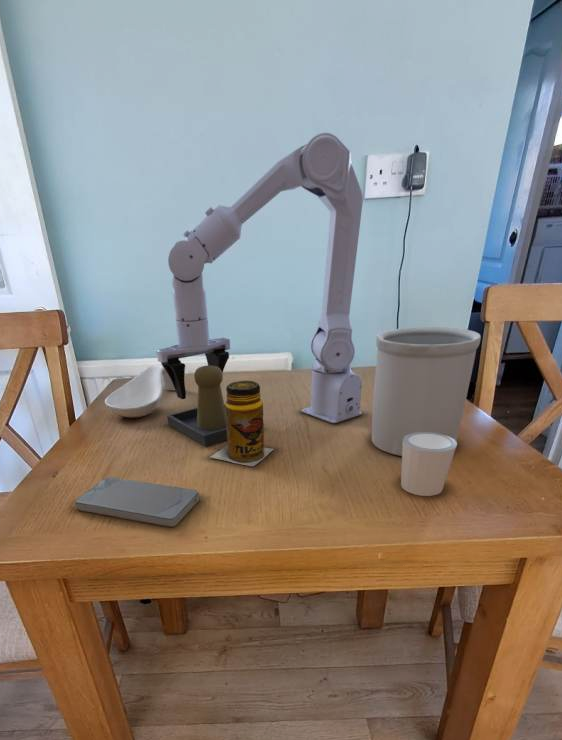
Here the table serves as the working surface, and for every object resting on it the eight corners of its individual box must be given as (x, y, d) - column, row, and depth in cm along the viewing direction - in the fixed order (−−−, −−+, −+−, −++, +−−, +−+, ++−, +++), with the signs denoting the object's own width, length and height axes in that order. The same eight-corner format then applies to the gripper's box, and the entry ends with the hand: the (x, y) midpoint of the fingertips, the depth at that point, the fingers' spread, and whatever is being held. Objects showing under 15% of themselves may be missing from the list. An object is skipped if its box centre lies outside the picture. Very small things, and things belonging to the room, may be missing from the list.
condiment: (254, 467, 74) (251, 393, 67) (209, 458, 77) (203, 387, 71) (274, 450, 79) (273, 380, 73) (231, 442, 83) (227, 375, 77)
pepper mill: (214, 432, 86) (209, 372, 80) (190, 426, 89) (184, 368, 83) (234, 422, 90) (231, 364, 84) (210, 417, 93) (206, 361, 87)
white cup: (407, 471, 70) (414, 427, 66) (454, 483, 66) (464, 437, 62) (388, 489, 66) (394, 443, 62) (437, 503, 62) (447, 455, 58)
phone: (108, 483, 71) (107, 476, 71) (202, 498, 66) (201, 490, 65) (74, 509, 65) (72, 501, 64) (174, 528, 60) (173, 519, 59)
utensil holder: (351, 433, 84) (359, 331, 75) (421, 421, 87) (437, 322, 78) (398, 466, 71) (414, 349, 62) (478, 450, 75) (505, 337, 66)
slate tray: (260, 429, 87) (260, 419, 86) (205, 446, 82) (204, 435, 81) (219, 411, 98) (219, 401, 96) (168, 425, 92) (166, 415, 91)
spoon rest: (148, 425, 92) (142, 390, 89) (97, 421, 96) (89, 387, 92) (194, 390, 111) (190, 360, 108) (150, 388, 115) (146, 358, 111)
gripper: (213, 311, 89) (218, 381, 96) (145, 321, 82) (156, 396, 89) (234, 315, 84) (238, 389, 91) (163, 326, 77) (173, 405, 84)
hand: (198, 393), depth 90 cm, fingers open, 7 cm apart
